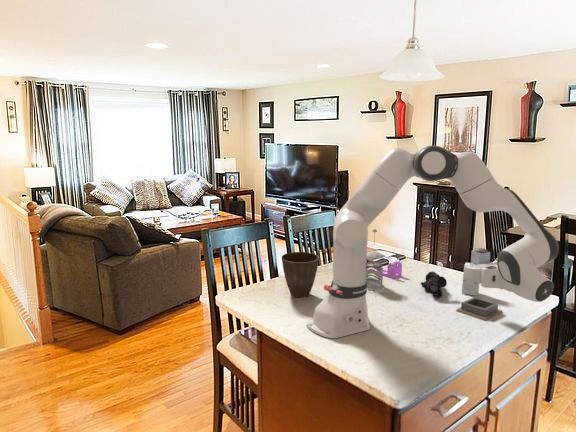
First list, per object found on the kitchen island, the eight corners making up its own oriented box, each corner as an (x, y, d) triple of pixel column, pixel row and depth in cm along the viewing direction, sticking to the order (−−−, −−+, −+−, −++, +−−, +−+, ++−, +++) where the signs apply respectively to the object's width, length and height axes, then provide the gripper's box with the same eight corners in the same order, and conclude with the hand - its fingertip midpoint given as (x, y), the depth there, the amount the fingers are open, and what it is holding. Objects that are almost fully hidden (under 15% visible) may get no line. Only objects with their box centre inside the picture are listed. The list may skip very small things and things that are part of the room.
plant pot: (326, 295, 177) (326, 257, 174) (297, 304, 168) (297, 264, 165) (302, 286, 188) (302, 249, 186) (274, 294, 179) (274, 256, 176)
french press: (385, 290, 182) (387, 231, 177) (357, 289, 184) (358, 231, 179) (384, 283, 192) (386, 226, 187) (357, 281, 193) (358, 226, 189)
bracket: (401, 276, 201) (402, 261, 199) (393, 279, 197) (394, 264, 196) (378, 270, 210) (379, 255, 209) (371, 272, 207) (371, 258, 205)
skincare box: (461, 293, 178) (463, 264, 176) (463, 290, 182) (465, 262, 180) (477, 296, 175) (480, 267, 173) (479, 292, 179) (481, 264, 177)
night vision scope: (430, 289, 190) (449, 276, 187) (431, 305, 173) (453, 291, 170) (418, 275, 190) (437, 262, 187) (419, 289, 174) (440, 275, 170)
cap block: (488, 282, 157) (490, 250, 155) (478, 283, 156) (479, 251, 153) (480, 278, 161) (482, 247, 159) (469, 279, 160) (471, 248, 158)
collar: (485, 320, 152) (485, 312, 152) (456, 310, 161) (456, 302, 160) (502, 311, 160) (502, 303, 159) (473, 303, 168) (474, 295, 168)
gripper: (533, 263, 147) (503, 253, 160) (481, 269, 142) (454, 258, 155) (531, 281, 148) (502, 270, 161) (479, 288, 143) (453, 275, 156)
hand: (478, 264), depth 158 cm, fingers closed on cap block, 4 cm apart
